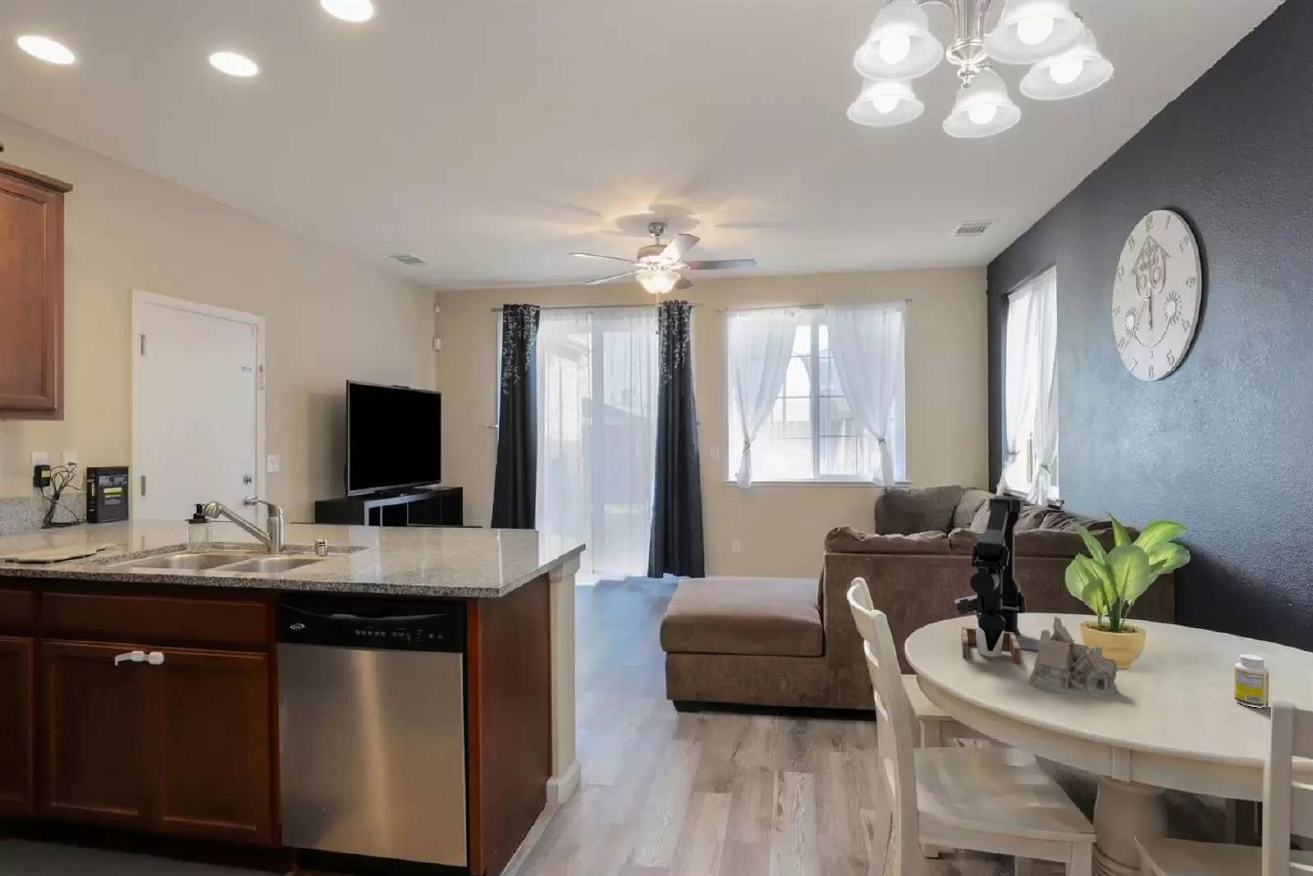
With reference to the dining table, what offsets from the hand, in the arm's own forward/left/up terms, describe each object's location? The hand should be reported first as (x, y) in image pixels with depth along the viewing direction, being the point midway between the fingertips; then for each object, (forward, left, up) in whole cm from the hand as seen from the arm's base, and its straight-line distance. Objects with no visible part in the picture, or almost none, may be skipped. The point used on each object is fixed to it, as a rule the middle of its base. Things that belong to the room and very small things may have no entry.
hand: (989, 647), depth 183 cm
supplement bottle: (+16, +50, -2) cm, 52 cm away
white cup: (0, 0, -2) cm, 2 cm away
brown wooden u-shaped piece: (0, 0, -2) cm, 2 cm away
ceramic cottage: (+19, +16, -2) cm, 25 cm away
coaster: (-12, +11, -2) cm, 16 cm away
